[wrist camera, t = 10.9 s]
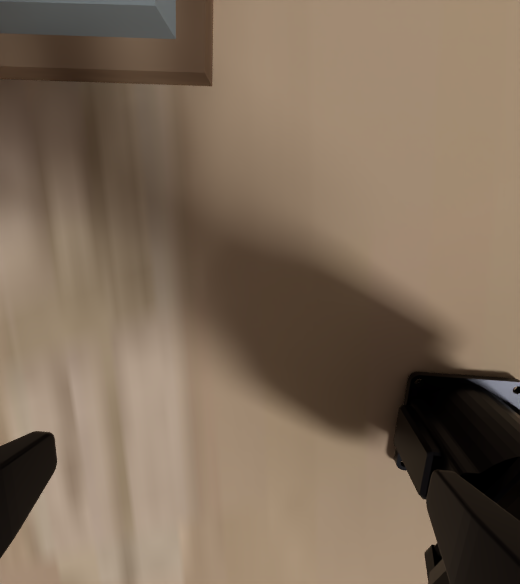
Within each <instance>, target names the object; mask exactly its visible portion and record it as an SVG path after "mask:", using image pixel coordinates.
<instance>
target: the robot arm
mask: <svg viewBox="0 0 520 584" xmlns="http://www.w3.org/2000/svg"><path fill="white" fill-rule="evenodd" d="M417 379H421V381H420V382H419V383H415V381H416V380H417ZM516 386H517V388H516V389H515V390H513V389H514V387H516ZM394 445H395V447H396V451H395V457H394V460H395V463H396V465H397V467H398V468H399V469H402V470H407V472H408V474H409V476H410V478H411V480H412V482H413V484H414V486H415V488H416V490H417V492H418V494H419V495H420V496H421V497H422V499H426V504H427V510H428V514H429V517H430V520H431V523H432V527H433V530H434V533H435V536H436V540H437V544H436V545H431V546H430V547H429V548H428V549H427V550H426V552H425V561H426V568H427V576H428V584H520V381H519V380H518V379H511V378H497V377H483V376H469V375H455V374H441V373H427V372H414V373H412V374H410V376H409V377H408V381H407V387H406V393H405V399H404V404H403V405H402V406H401V407H400V408H399V412H398V418H397V424H396V430H395V436H394ZM401 461H403V462H401ZM56 465H57V456H56V447H55V438H54V435H53V434H52V433H50V432H41V431H35V432H32V433H29V434H27V435H25V436H22V437H20V438H18V439H16V440H13V441H11V442H9V443H7V444H4V445H2V446H0V558H1V557H2V555H3V554H4V552H5V551H6V550H7V548H8V547H9V545H10V544H11V542H12V541H13V539H14V538H15V536H16V535H17V533H18V531H19V530H20V528H21V527H22V525H23V523H24V522H25V520H26V518H27V517H28V515H29V513H30V512H31V510H32V508H33V507H34V505H35V503H36V502H37V500H38V498H39V496H40V495H41V493H42V491H43V490H44V488H45V486H46V485H47V483H48V481H49V480H50V478H51V476H52V475H53V473H54V471H55V469H56Z"/></svg>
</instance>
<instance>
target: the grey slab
mask: <svg viewBox="0 0 520 584" xmlns="http://www.w3.org/2000/svg"><path fill="white" fill-rule="evenodd" d="M0 33H9V34H39V35H68V36H97V37H127V38H156V39H176V0H0Z"/></svg>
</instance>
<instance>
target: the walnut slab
mask: <svg viewBox="0 0 520 584" xmlns="http://www.w3.org/2000/svg"><path fill="white" fill-rule="evenodd" d="M212 57H213V0H176V39H156V38H127V37H97V36H68V35H39V34H9V33H0V79H21V80H50V81H79V82H108V83H137V84H166V85H195V86H212Z"/></svg>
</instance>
